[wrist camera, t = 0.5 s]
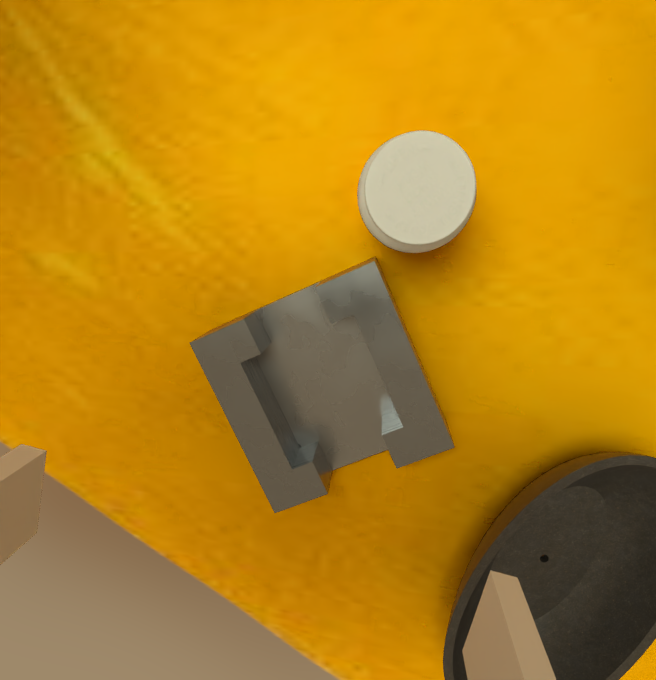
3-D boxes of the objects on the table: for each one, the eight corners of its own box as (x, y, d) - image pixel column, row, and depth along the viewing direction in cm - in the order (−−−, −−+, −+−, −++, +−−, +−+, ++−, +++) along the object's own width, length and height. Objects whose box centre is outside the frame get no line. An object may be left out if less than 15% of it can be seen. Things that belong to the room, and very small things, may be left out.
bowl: (698, 463, 37) (759, 509, 31) (530, 686, 42) (555, 762, 36) (545, 384, 37) (576, 415, 31) (396, 617, 42) (398, 683, 36)
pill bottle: (465, 233, 35) (502, 237, 24) (375, 257, 36) (372, 272, 25) (444, 139, 34) (473, 99, 23) (352, 166, 35) (338, 141, 24)
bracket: (210, 330, 39) (189, 343, 34) (375, 256, 36) (374, 260, 32) (285, 483, 41) (274, 513, 36) (446, 422, 38) (454, 447, 34)
